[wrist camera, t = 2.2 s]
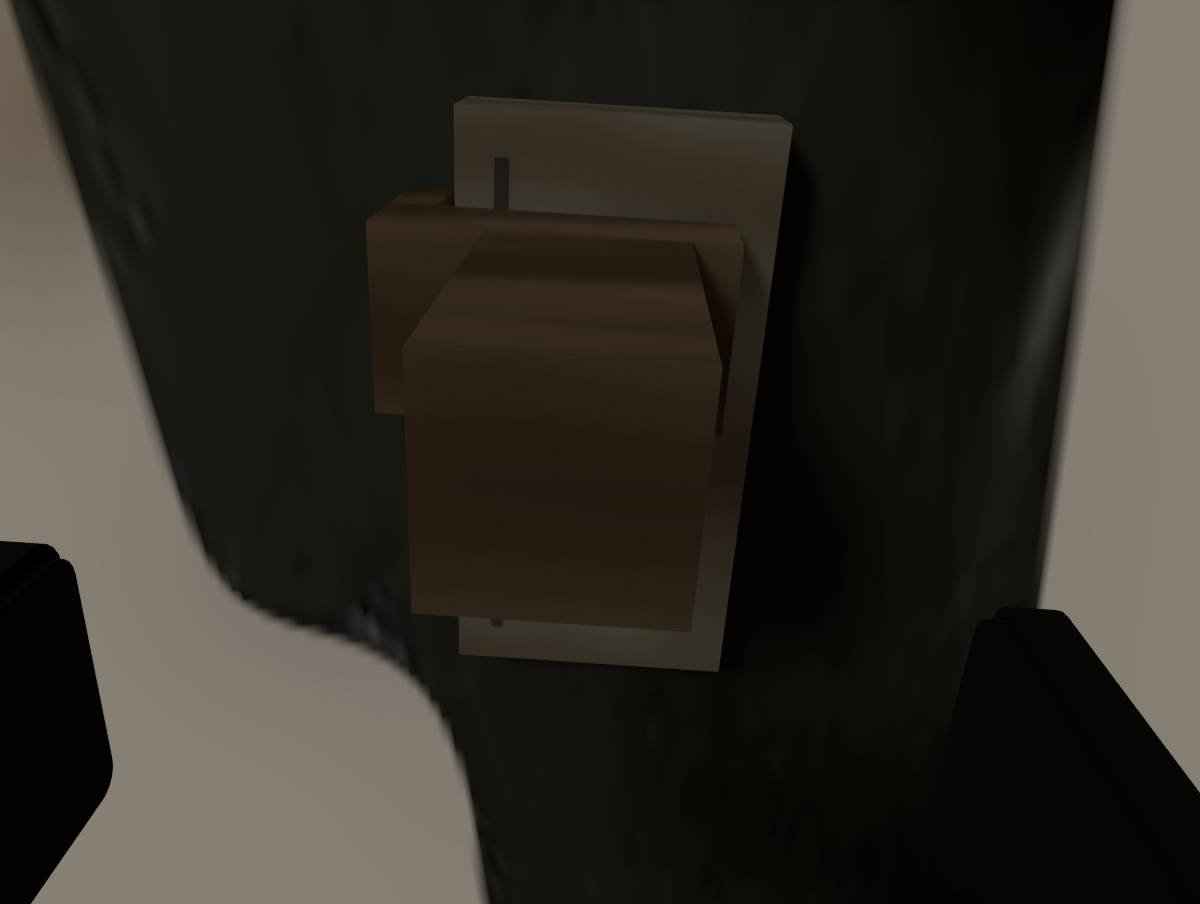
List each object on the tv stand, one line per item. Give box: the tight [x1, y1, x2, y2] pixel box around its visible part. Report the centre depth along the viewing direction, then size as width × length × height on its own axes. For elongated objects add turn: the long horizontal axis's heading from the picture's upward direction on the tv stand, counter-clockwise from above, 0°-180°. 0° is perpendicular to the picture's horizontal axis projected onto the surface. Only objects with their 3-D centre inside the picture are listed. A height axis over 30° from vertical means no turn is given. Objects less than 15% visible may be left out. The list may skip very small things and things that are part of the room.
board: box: [454, 96, 793, 672], centre depth 23 cm, size 14×7×2 cm, turn 177°
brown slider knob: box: [366, 187, 745, 632], centre depth 17 cm, size 4×7×11 cm, turn 87°
